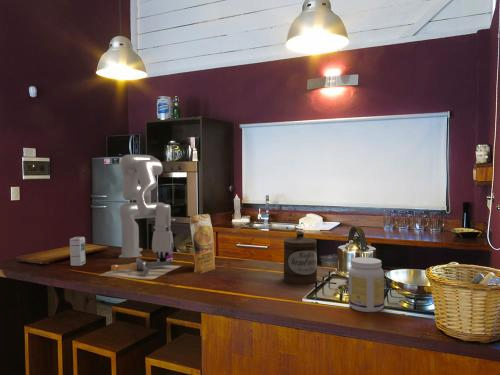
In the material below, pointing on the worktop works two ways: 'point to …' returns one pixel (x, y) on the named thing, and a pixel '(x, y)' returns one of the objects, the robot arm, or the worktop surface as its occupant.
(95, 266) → the worktop surface
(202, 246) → the pancake mix bag
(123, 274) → the striped dish towel
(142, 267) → the capstan
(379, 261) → the supplement tub
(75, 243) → the syrup box
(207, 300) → the worktop surface
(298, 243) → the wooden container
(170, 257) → the supplement can
